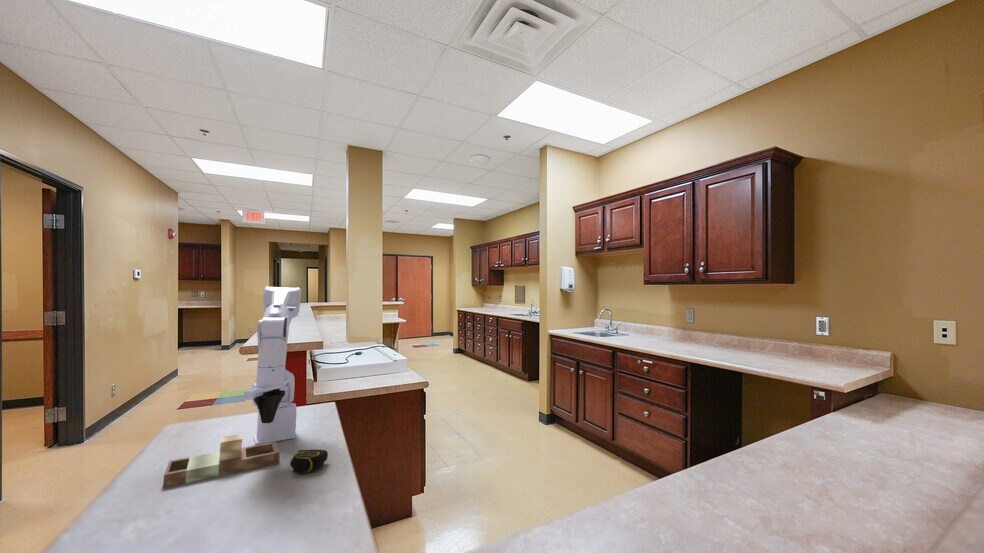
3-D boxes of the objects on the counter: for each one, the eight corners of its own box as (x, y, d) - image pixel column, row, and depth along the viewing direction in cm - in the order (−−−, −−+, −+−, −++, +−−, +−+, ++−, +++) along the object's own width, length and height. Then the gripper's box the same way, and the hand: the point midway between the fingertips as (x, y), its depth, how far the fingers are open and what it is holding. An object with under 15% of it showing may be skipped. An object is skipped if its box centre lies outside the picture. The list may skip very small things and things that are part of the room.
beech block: (240, 450, 86) (241, 433, 87) (240, 456, 83) (242, 438, 83) (219, 454, 84) (221, 437, 84) (219, 460, 81) (220, 442, 81)
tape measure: (328, 463, 87) (329, 447, 87) (317, 476, 80) (317, 459, 80) (299, 463, 86) (300, 447, 87) (285, 477, 80) (286, 459, 80)
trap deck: (275, 451, 92) (275, 441, 92) (278, 463, 86) (279, 452, 86) (168, 472, 80) (169, 460, 80) (163, 487, 74) (164, 475, 74)
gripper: (275, 360, 97) (271, 412, 96) (232, 370, 82) (228, 432, 81) (300, 361, 96) (297, 413, 95) (262, 371, 82) (258, 433, 81)
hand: (267, 422), depth 88 cm, fingers closed
